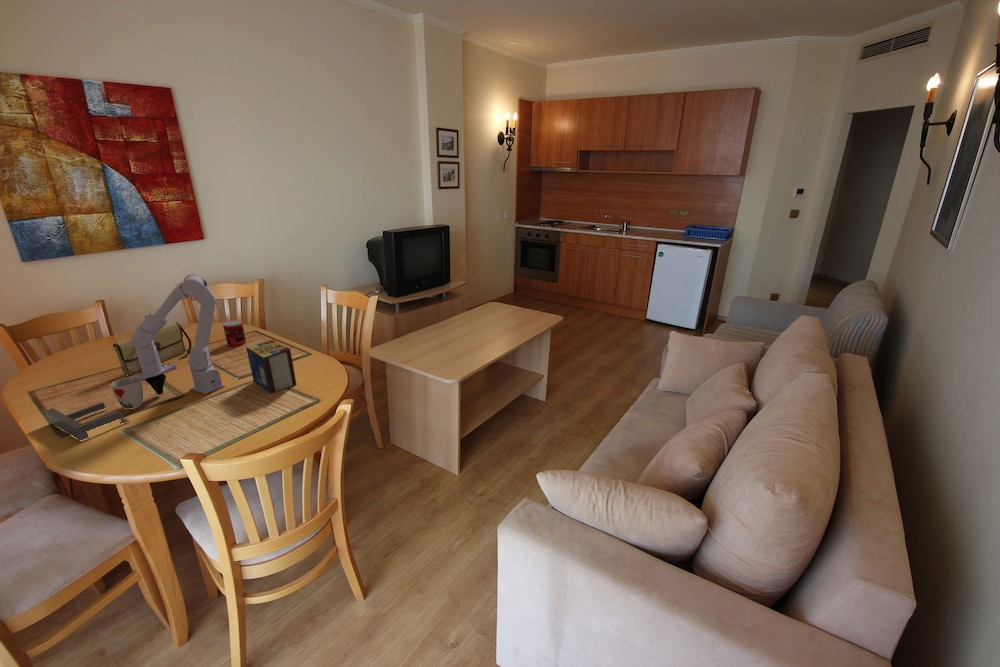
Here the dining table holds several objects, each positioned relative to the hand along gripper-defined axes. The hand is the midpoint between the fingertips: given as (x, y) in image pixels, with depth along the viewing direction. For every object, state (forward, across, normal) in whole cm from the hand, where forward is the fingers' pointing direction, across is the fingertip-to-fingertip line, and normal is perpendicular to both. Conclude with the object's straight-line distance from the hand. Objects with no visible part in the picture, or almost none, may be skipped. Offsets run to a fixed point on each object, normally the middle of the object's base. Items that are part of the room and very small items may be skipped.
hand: (159, 393), depth 162 cm
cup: (+1, +9, 0) cm, 9 cm away
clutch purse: (+1, -15, -30) cm, 34 cm away
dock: (+1, +20, 0) cm, 20 cm away
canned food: (+1, -45, -24) cm, 51 cm away
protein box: (+1, -27, +28) cm, 39 cm away
